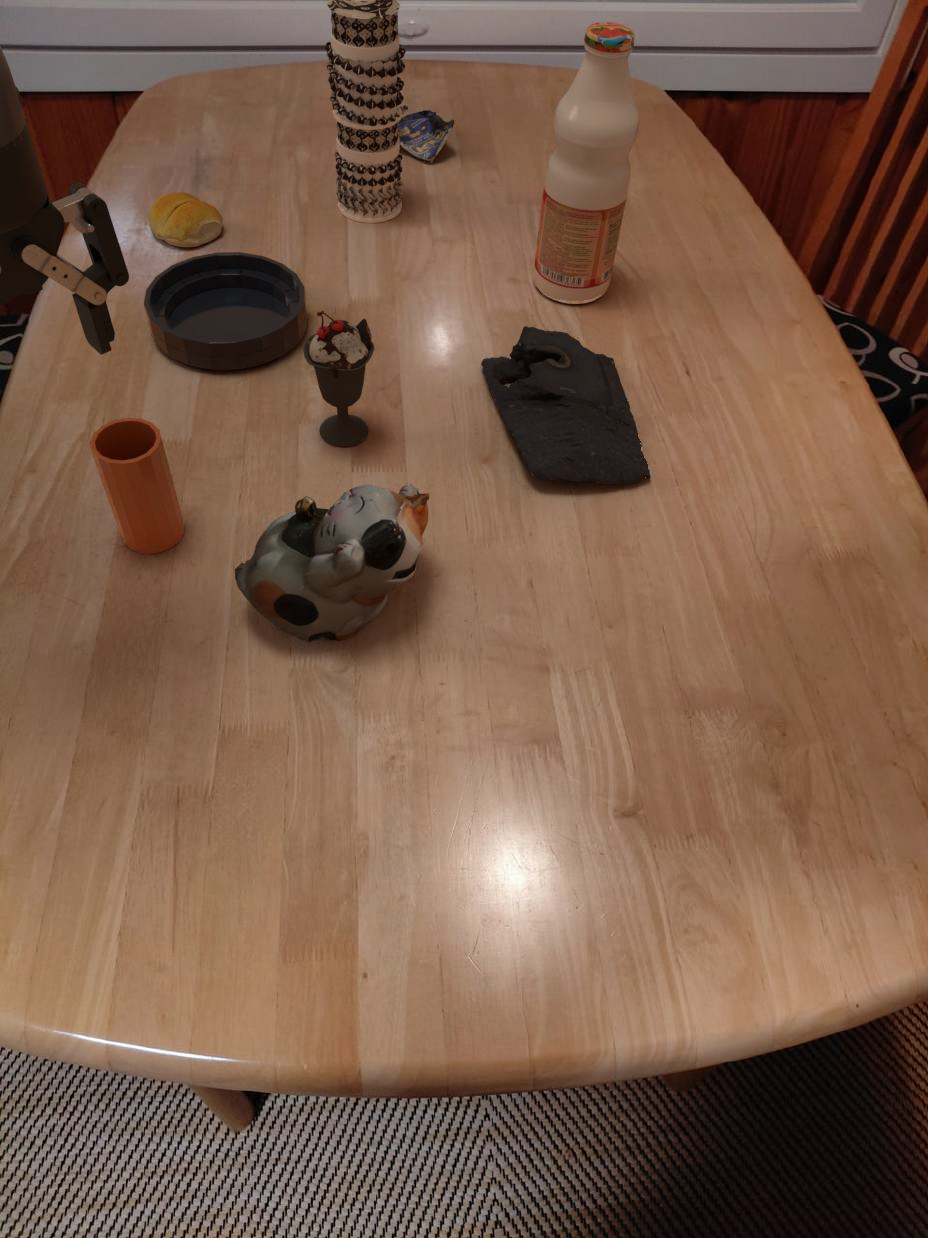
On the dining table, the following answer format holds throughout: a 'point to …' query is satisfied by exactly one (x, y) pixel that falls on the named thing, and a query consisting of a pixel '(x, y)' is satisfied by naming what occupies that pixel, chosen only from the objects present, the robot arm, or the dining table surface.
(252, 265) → the bowl
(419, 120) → the snack package
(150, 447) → the tumbler
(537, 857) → the dining table surface
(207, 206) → the bread roll
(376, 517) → the lucky cat figurine
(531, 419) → the dark slate chunk
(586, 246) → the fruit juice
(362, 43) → the cream patterned cylinder
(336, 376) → the sundae
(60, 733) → the dining table surface
